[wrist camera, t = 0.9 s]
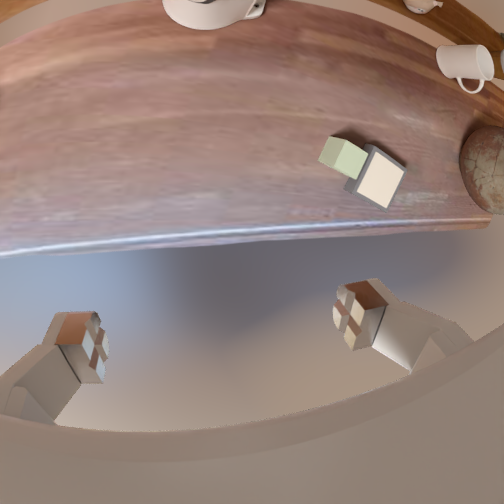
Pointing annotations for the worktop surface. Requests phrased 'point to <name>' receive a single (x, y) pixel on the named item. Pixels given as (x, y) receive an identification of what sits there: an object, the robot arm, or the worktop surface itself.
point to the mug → (465, 63)
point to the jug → (484, 168)
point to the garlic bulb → (421, 5)
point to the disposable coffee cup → (498, 63)
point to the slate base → (377, 179)
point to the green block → (343, 156)
